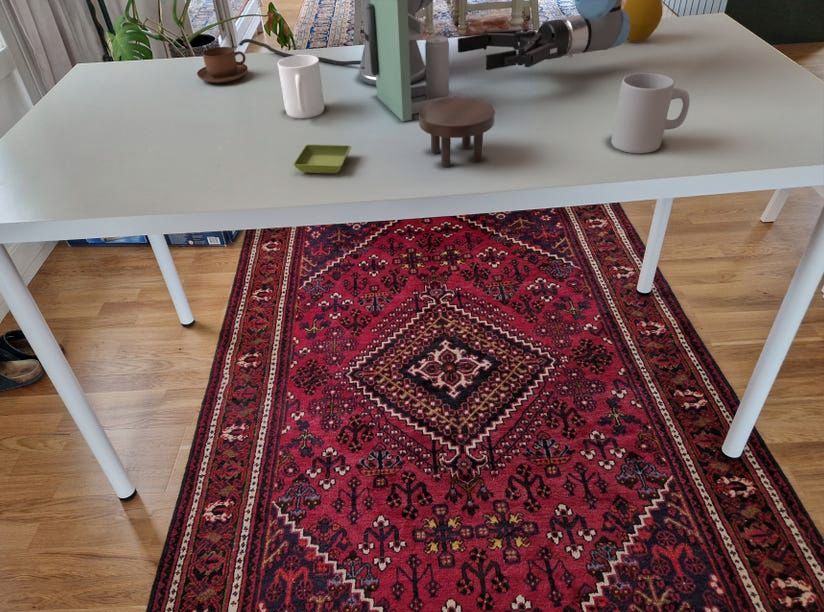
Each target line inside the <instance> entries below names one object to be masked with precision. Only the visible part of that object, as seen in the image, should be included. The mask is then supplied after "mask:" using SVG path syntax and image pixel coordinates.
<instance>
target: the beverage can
mask: <svg viewBox="0 0 824 612" xmlns="http://www.w3.org/2000/svg"><path fill="white" fill-rule="evenodd" d="M424 55H425V56H424V57H425V84H426V95H425V96H426V100H430V99H435V98H441V97H446V96H450V42H449V38H448V37H447V36H442V35H441V36H440V35H436V36H435V35H434V36H429V37H427V38H426V39H425V43H424Z"/></svg>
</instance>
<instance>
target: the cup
mask: <svg viewBox="0 0 824 612" xmlns="http://www.w3.org/2000/svg"><path fill="white" fill-rule="evenodd" d="M294 55H295V56H290V57H283V58H281V59H279V60H278V61H277V68H278V69H277V70H278V75H279V80H280V86H281V92H282V98H283V105H284V109H285V113H286V114H287V116H288V117H291V118H293V119H311V118H314V117H317V116H319V115H321V114H322V113H324V111H325V98H324V90H323V82H322V74H321V67H320V61H319V59H318V58H317V57H318V56H315V55H312V54H294Z"/></svg>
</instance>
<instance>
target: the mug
mask: <svg viewBox="0 0 824 612" xmlns="http://www.w3.org/2000/svg"><path fill="white" fill-rule="evenodd" d="M674 85H675V81H674V79H672V78H671V77H669V76H667V75H664V74H660V73H655V72H654V73H653V72H637V73H632V74H627V75H626V76H624V77H623V78H622V81H621V84H620V90H619V96H618V102H617V107H616V113H615V118H614V119H615V120H614V125H613V128H612V129H613V130H612V134H611V141H610V142H611V144H612V146H613V147H614V148H615V149H617V150H619V151H621V152H625V153H630V154H648V153H653V152H655V151H657V150H658V149H659V148H661V146H662V141H663V137H664V132H665V131H669V130H673V129H677V128H679V127H680V126H682V124H683V123H684V122H685V120H686V117H687V116H688V112H689V109H690V101H691V100H690V93H689V92H688V91H687V90H685V89H683V88H676V87H675V86H674ZM676 99H680V100H681V101H682V108H681V111H680V113H679V115H678V117H676V118H675V119H667V118H668V114H669V109H670V106H671V102H672V100H676Z"/></svg>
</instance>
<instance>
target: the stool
mask: <svg viewBox="0 0 824 612" xmlns="http://www.w3.org/2000/svg"><path fill="white" fill-rule="evenodd" d="M495 110H496V109H495V108H494V107H493V105H491V104H490V103H488V102H487V101H483V100H480V99H474V98H466V97H460V98H451V99H443V100H438V101H435V102H431V103H429V104H427V105H425V106H423V107H422V108H421V109H420V111H419V113H418V124H419V125H418V126H419V128H420V129H421V131H423V132H424V133H426V134H429V135H430V153H431V154H433V155H436V154H440V162H441V163H440V166H441V167H442V168H449V167H451V140H452V139H461V148H462V149H465V150H467V149H470V148H471V147H472V144H471V143H472V137H473V147H472V149H473V150H472V153H473V154H472V160H473V162H475V163H476V162H477V163H479V162H482V161H483V151H484V150H483V149H484V148H483V147H484V133H486V132H488V131H490V130H491V129H492V128H493V127H494V125H495V115H496V111H495Z"/></svg>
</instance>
